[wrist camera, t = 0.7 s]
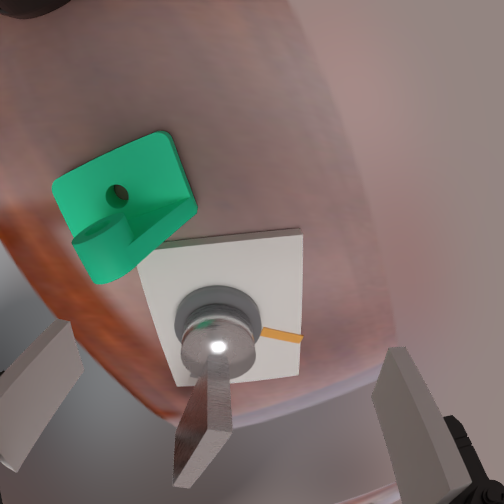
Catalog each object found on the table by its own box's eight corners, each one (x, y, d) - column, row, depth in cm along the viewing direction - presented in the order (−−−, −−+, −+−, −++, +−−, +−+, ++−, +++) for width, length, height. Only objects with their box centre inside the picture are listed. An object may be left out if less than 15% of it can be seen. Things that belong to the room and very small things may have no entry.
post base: (136, 245, 29) (129, 260, 26) (302, 227, 30) (310, 241, 27) (177, 378, 38) (176, 395, 36) (298, 366, 39) (303, 383, 37)
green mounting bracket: (170, 125, 24) (140, 140, 15) (198, 203, 28) (188, 257, 19) (60, 176, 25) (1, 215, 16) (92, 242, 29) (49, 302, 20)
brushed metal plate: (193, 296, 28) (184, 399, 18) (262, 314, 30) (281, 413, 20) (158, 405, 36) (151, 482, 26) (208, 415, 38) (210, 490, 28)
